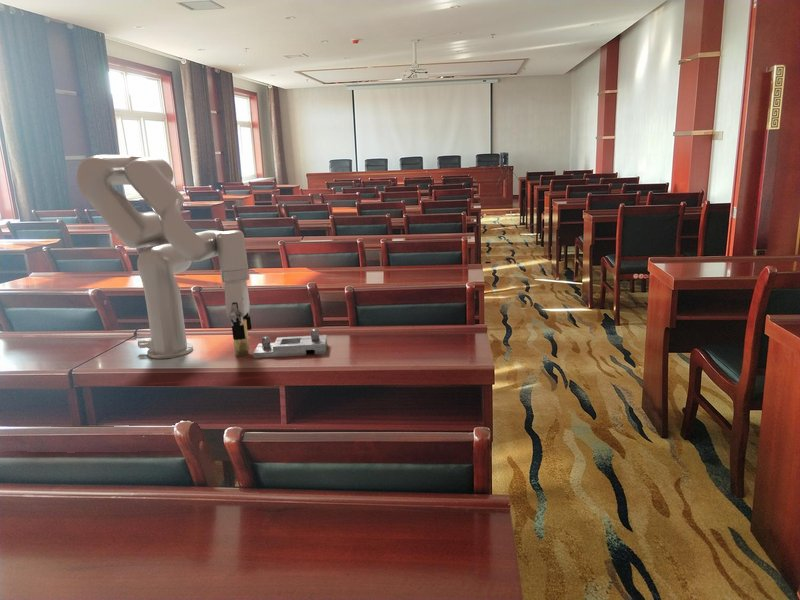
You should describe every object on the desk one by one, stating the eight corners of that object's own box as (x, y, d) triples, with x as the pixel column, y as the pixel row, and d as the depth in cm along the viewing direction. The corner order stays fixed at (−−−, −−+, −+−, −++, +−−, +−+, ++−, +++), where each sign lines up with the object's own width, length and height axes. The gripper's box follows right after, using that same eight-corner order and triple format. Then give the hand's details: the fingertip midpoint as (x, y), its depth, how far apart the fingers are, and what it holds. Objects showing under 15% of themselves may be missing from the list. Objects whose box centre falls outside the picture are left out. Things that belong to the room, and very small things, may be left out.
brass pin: (233, 356, 170) (230, 322, 168) (236, 352, 174) (233, 318, 172) (248, 355, 171) (244, 321, 168) (250, 351, 175) (247, 318, 172)
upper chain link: (273, 357, 169) (271, 336, 167) (277, 347, 177) (276, 327, 176) (325, 354, 169) (324, 333, 168) (327, 344, 178) (325, 325, 177)
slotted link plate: (253, 358, 168) (252, 342, 167) (259, 348, 177) (257, 333, 176) (306, 355, 169) (304, 339, 168) (308, 345, 178) (307, 330, 177)
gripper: (228, 271, 175) (235, 327, 179) (214, 282, 159) (222, 344, 162) (254, 269, 176) (261, 325, 180) (242, 280, 159) (250, 342, 163)
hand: (242, 334), depth 171 cm, fingers open, 9 cm apart
